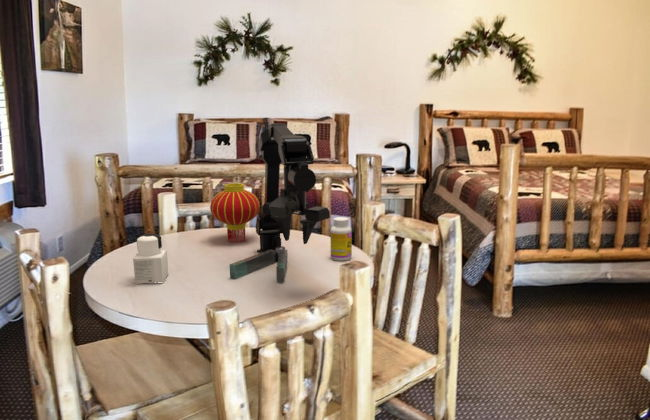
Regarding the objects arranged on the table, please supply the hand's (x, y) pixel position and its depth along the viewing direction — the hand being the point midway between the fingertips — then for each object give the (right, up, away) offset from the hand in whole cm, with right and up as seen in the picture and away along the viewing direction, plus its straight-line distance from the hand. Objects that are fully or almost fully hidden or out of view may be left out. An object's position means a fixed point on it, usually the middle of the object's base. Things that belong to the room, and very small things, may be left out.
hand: (296, 242), depth 150 cm
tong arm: (-5, -9, +12) cm, 16 cm away
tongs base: (-12, -9, +16) cm, 22 cm away
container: (-41, -11, +8) cm, 43 cm away
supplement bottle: (+13, -7, +26) cm, 30 cm away
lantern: (-24, -2, +48) cm, 54 cm away
